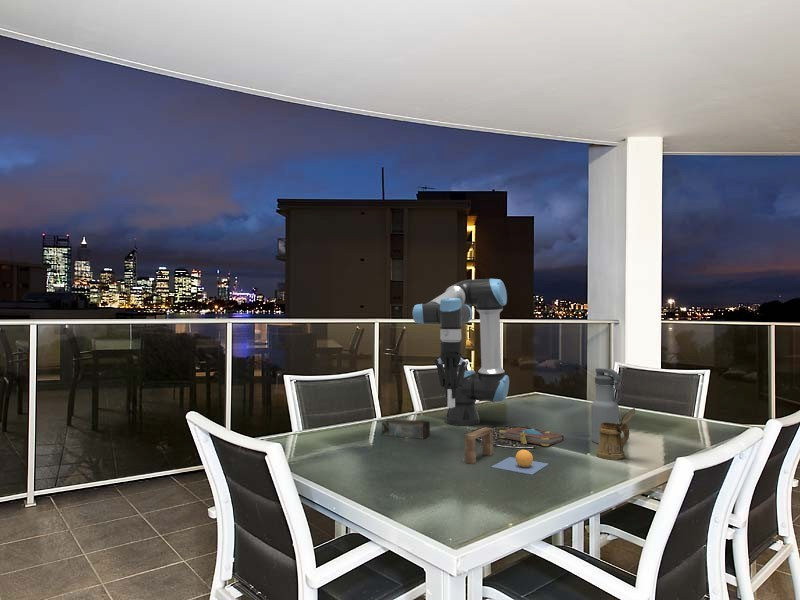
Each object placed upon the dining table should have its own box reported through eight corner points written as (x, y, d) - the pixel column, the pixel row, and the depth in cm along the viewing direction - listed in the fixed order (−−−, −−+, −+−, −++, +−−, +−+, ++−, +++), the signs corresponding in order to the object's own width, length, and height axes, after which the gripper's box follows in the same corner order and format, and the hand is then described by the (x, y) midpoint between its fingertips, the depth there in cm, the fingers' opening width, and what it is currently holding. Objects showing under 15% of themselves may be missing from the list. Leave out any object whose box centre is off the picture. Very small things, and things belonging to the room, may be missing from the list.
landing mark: (509, 457, 185) (509, 456, 185) (548, 464, 176) (548, 463, 176) (491, 467, 173) (491, 466, 173) (532, 474, 165) (532, 474, 165)
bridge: (464, 462, 179) (464, 435, 179) (485, 453, 191) (484, 427, 191) (472, 464, 177) (472, 436, 177) (492, 454, 189) (492, 428, 189)
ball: (530, 468, 175) (516, 458, 178) (538, 454, 174) (523, 444, 177) (524, 472, 170) (510, 462, 173) (532, 458, 169) (517, 448, 172)
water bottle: (624, 442, 205) (623, 369, 206) (614, 447, 198) (613, 371, 199) (598, 437, 212) (597, 367, 213) (587, 442, 205) (586, 369, 206)
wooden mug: (629, 464, 176) (628, 409, 176) (591, 456, 186) (590, 404, 187) (642, 459, 181) (641, 406, 182) (604, 451, 192) (604, 401, 192)
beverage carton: (388, 432, 226) (388, 416, 226) (431, 435, 219) (430, 420, 219) (381, 436, 219) (381, 420, 219) (424, 440, 211) (424, 423, 212)
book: (510, 434, 226) (510, 422, 226) (565, 444, 209) (565, 431, 209) (488, 438, 214) (488, 426, 214) (544, 449, 197) (544, 436, 197)
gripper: (429, 341, 192) (430, 407, 192) (461, 342, 184) (462, 410, 184) (440, 340, 198) (441, 403, 198) (472, 341, 190) (472, 407, 190)
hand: (451, 407), depth 191 cm, fingers closed
